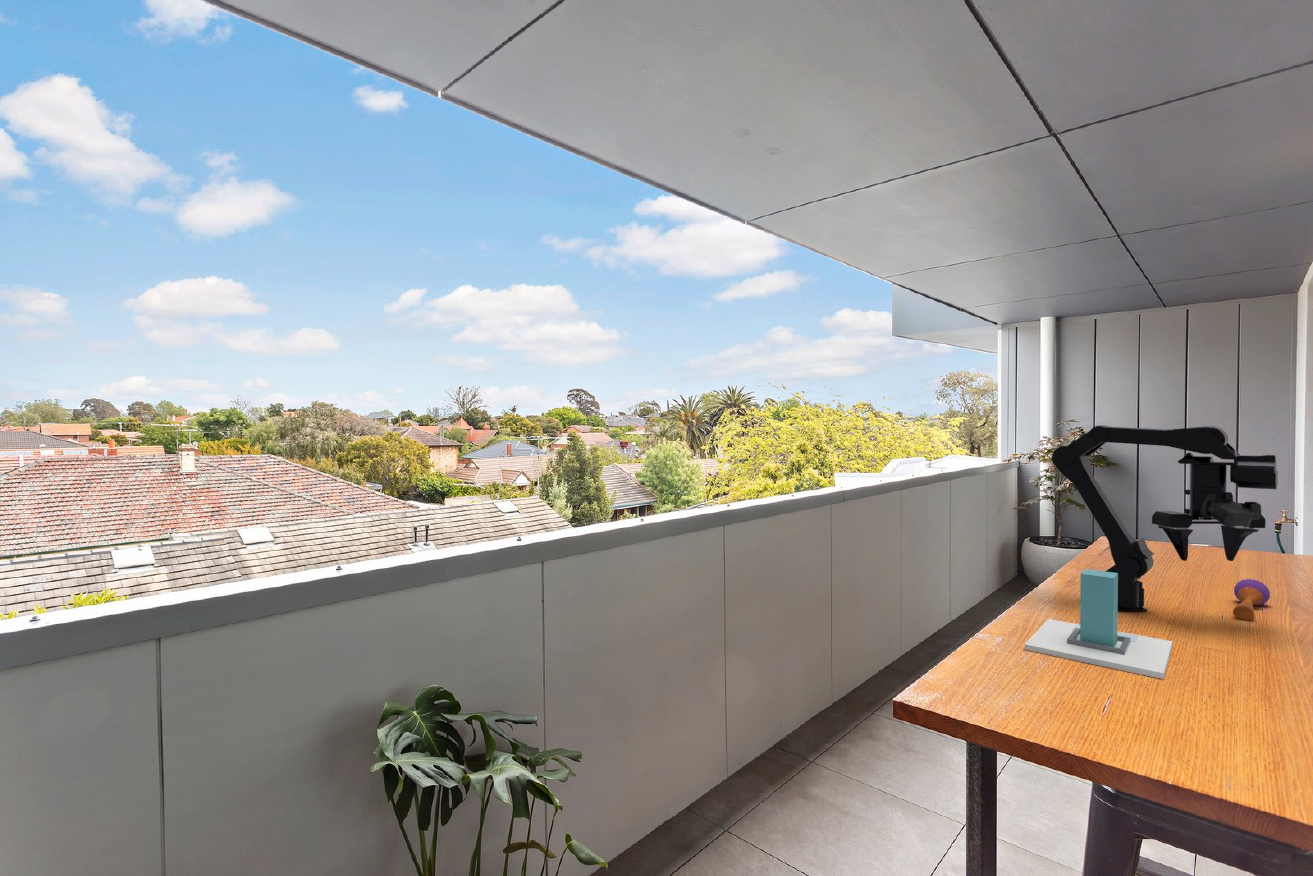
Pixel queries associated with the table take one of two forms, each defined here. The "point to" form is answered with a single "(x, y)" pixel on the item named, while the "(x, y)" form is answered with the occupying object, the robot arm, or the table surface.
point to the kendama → (1249, 598)
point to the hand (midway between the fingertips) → (1206, 560)
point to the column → (1099, 607)
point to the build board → (1103, 649)
